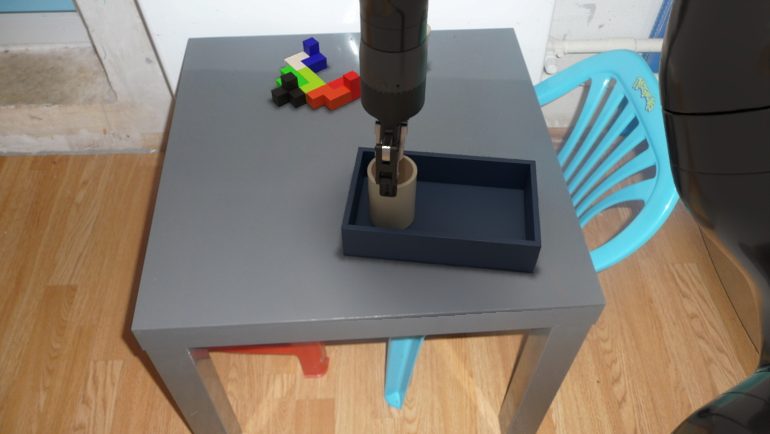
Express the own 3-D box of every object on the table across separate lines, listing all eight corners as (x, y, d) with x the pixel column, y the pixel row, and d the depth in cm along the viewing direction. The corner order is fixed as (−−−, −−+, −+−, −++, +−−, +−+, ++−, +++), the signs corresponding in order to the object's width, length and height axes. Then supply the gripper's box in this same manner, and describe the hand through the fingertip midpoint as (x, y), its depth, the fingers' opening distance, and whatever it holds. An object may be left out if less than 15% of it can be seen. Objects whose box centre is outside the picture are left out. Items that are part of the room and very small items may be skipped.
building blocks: (254, 82, 105) (249, 62, 102) (314, 56, 110) (312, 36, 107) (298, 126, 98) (295, 105, 94) (361, 96, 103) (360, 75, 99)
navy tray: (528, 188, 88) (535, 160, 84) (533, 272, 78) (541, 246, 74) (359, 174, 90) (358, 146, 86) (343, 255, 80) (340, 228, 76)
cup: (424, 214, 84) (427, 170, 77) (391, 239, 81) (391, 195, 75) (392, 190, 87) (392, 145, 81) (359, 213, 85) (357, 168, 78)
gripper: (421, 113, 61) (415, 214, 73) (430, 35, 70) (424, 137, 82) (350, 107, 61) (356, 209, 74) (368, 31, 70) (370, 133, 83)
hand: (391, 171), depth 78 cm, fingers open, 8 cm apart
